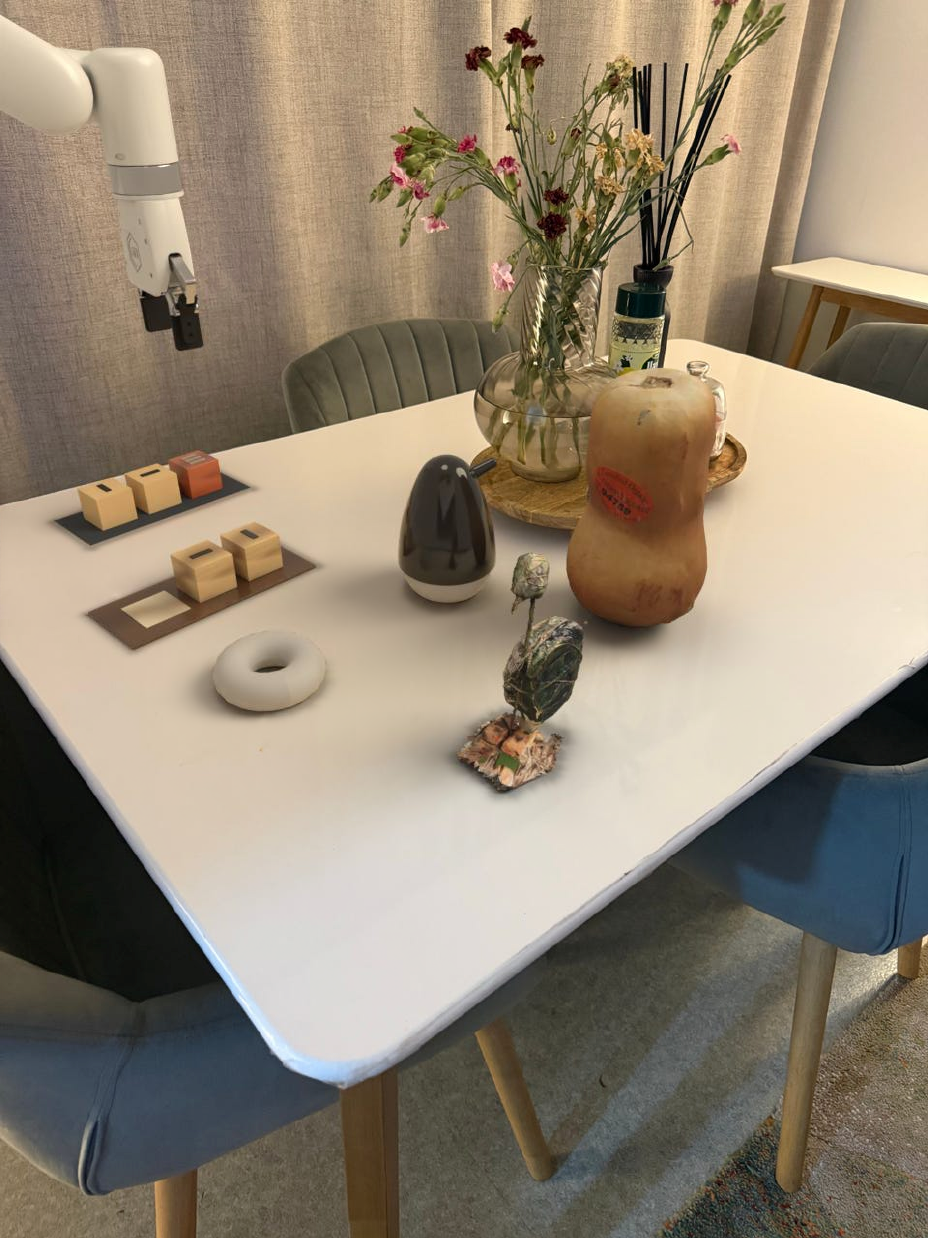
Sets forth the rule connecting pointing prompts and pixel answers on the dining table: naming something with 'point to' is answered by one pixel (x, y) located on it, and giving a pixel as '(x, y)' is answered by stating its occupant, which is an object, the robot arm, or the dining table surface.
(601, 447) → the butternut squash
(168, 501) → the slate word
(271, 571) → the walnut word
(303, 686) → the donut
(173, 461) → the red wooden slotted cube
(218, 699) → the dining table surface
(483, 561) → the pump dispenser
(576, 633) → the plant with pod
